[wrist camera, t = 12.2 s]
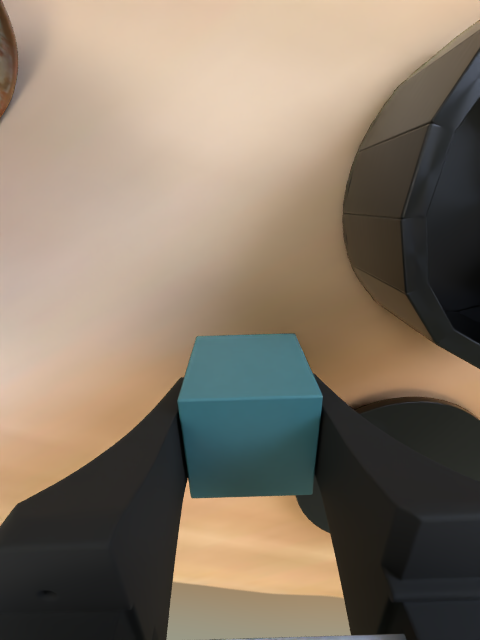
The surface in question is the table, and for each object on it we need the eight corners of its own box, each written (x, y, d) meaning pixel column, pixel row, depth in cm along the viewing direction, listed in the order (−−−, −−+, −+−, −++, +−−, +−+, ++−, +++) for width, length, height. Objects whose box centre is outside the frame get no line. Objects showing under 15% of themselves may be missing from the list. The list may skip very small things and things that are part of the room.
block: (295, 332, 12) (323, 395, 8) (291, 411, 14) (312, 495, 10) (195, 335, 12) (176, 400, 8) (203, 413, 14) (190, 499, 10)
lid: (526, 431, 19) (608, 496, 15) (402, 542, 24) (438, 616, 20) (361, 360, 17) (404, 413, 13) (260, 499, 21) (266, 572, 17)
